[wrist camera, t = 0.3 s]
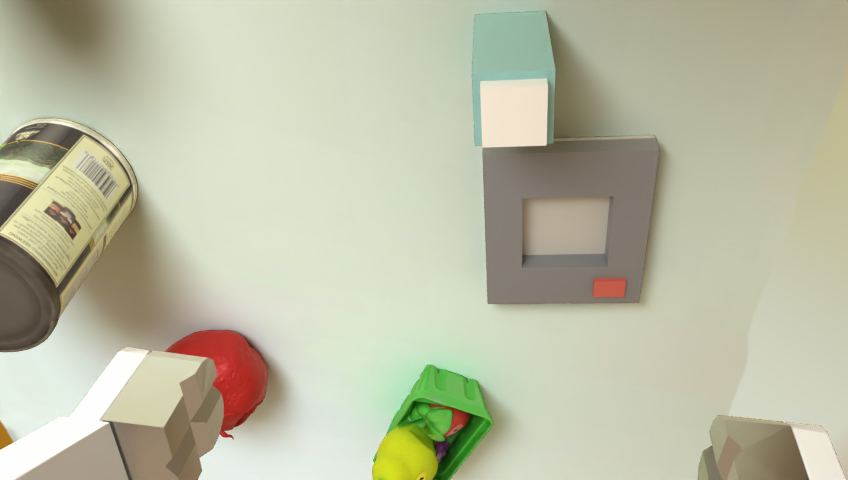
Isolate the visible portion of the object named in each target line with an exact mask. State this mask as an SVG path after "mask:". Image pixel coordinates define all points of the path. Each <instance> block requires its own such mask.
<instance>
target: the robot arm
mask: <svg viewBox="0 0 848 480" xmlns="http://www.w3.org/2000/svg"><path fill="white" fill-rule="evenodd" d="M216 377H217V371H216V367H215V363H214V360H212V359H210V358H206V357H199V356H191V355H184V354H177V353H170V352H163V351H156V350H154V351H152V350H144V349H137V348H130V347H125V348H124V349H122V350H120V351H119V352H118V353H117V354H116V355H115V356H114V358H113V359H112V360H111V362H110V363H109V364H108V366H107V367H106V369H105V370H104V371H103V373H102V374H101V375H100V377H99V378H98V379H97V381H96V382H95V383H94V385H93V386H92V388H91V389H90V390H89V392H88V393H87V394H86V396H85V397H84V398H83V400H82V401H81V402H80V404H79V405H78V407H77V408H76V409H75V411H74V412H73V413H72V415H71V416H70V417H63V416H61V417H59V418H57V419H56V420H54V421H52V422H50V423H48V424H47V425H45V426H43V427H41V428H39V429H38V430H36V431H34V432H32V433H30V434H29V435H27V436H25V437H23V438H21V439H20V440H18V441H16V442H14V443H12V444H11V445H9V446H7V447H5V448H3V449H2V450H0V480H198V478H199V476H200V474H201V472H202V468H201V464H200V459H199V458H200V457H201V456H203V455H204V454H206V453H207V452H209V451H210V450H212V449H213V447H214V445H215V443H216V441H217V439H218V437H219V435H220V430H221V426H222V422H223V418H224V404H223V398H222V394H221V393H220V392H219V391H218V390H217V389H216V388H215V387H214V386H213V385H212V384H213V382H214V380H215V379H216ZM709 432H710V437H711V441H712V446H710V447H709V448H707V449H706V450H704V451H703V453H702V456H701V460H700V464H699V469H698V480H846V477H845V475H844V472H843V470H842V467H841V465H840V462H839V460H838V458H837V455H836V453H835V450H834V448H833V445H832V443H831V441H830V438H829V435H828V433H827V431H826V430H825V429H824V428H823V427H822V426H820V425H809V424H799V423H791V422H786V423H784V422H780V421H772V420H762V419H752V418H742V417H733V416H723V415H717V417H716V418H715V419H714V420H713V423H712V426H711V429H710V431H709Z"/></svg>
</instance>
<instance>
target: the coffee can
mask: <svg viewBox="0 0 848 480" xmlns="http://www.w3.org/2000/svg"><path fill="white" fill-rule="evenodd" d="M136 200H137V183H136V179H135V176H134V173H133V171H132V168H131V166H130V165H129V163H128V162H127V160H126V159H125V158H124V156H123V155H122V154H121V152H120V151H119V150H118V149H117V148H116V147H115V146H114V145H113V144H112V143H111V142H109V141H108V140H107V139H106V138H104V137H103V136H101V135H100V134H98V133H97V132H95V131H94V130H92V129H90V128H88V127H85V126H82V125H80V124H78V123H75V122H72V121H68V120H64V119H57V118H42V119H35V120H32V121H29V122H26V123H24V124H22V125H21V126H19V127H18V128H17V129H16V130H15V131H13V133H12V134H11V135H10V137H9V138H8V139H7V140H6V141H5V142H4V143H3V144H2V145H1V146H0V352H18V351H23V350H27V349H31V348H33V347H36V346H38V345H40V344H41V343H42V342H44V341H45V340H46V339H47V338H48V337H49V336H50V335H51V333H52V332H53V330H54V328H55V327H56V325H57V322H58V319H59V317H60V315H61V314H62V312H63V311H64V309H65V308H66V306H67V305H68V303H69V302H70V300H71V299H72V297H73V296H74V294H75V293H76V291H77V290H78V288H79V287H80V285H81V284H82V282H83V281H84V279H85V278H86V276H87V275H88V274H89V272H90V271H91V269H92V267H93V266H94V264H95V263H96V262H97V260H98V259H99V257H100V256H101V254H102V253H103V251H104V249H105V248H106V247H107V245H108V244H109V242H110V241H111V239H112V238H113V236H114V235H115V233H116V232H117V230H118V229H119V227H120V226H121V224H122V223H123V221H124V220H125V218H126V217H127V216H128V215H129V214H130V213H131V211H132V210H133V208H134V207H135V203H136Z"/></svg>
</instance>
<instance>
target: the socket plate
mask: <svg viewBox="0 0 848 480" xmlns="http://www.w3.org/2000/svg"><path fill="white" fill-rule="evenodd" d="M659 151H660V149H659V146H658V144H657V141H656V138H655V135H644V136H613V137H582V138H553V143H550V144H547V146H517V147H485V148H483V181H484V211H485V240H486V269H487V298H488V304H545V303H639V300H640V292H641V285H642V277H643V270H644V263H645V255H646V248H647V240H648V233H649V225H650V218H651V211H652V203H653V196H654V188H655V181H656V173H657V166H658V159H659Z"/></svg>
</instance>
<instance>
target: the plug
mask: <svg viewBox="0 0 848 480" xmlns="http://www.w3.org/2000/svg"><path fill="white" fill-rule="evenodd" d="M555 73H556V70H555V64H554V58H553V52H552V46H551V40H550V34H549V28H548V22H547V16H546V11H531V12H511V13H492V14H475V19H474V40H473V61H472V89H473V113H474V137H475V146H482V148H485V147H517V146H547V144H550V143H553V134H554V103H555Z"/></svg>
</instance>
